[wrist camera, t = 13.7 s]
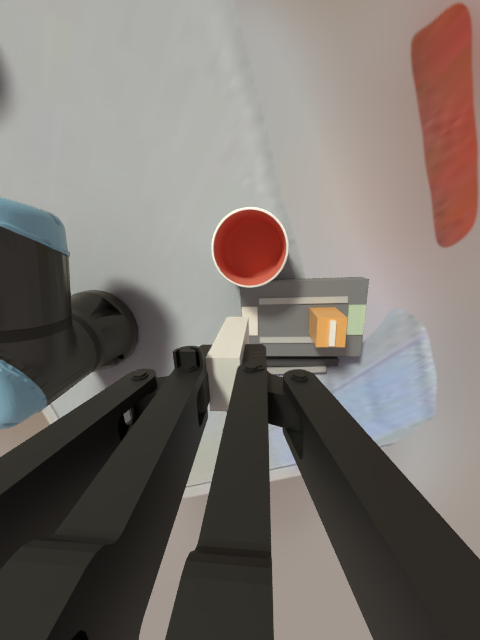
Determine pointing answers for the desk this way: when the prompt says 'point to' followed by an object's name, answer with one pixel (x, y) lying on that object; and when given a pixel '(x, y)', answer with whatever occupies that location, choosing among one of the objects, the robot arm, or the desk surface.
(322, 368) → the cord grey
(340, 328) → the breaker toggle
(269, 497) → the robot arm
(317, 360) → the black bar
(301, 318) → the box
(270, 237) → the cup
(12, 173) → the desk surface
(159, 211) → the desk surface
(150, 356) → the desk surface
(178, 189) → the desk surface
